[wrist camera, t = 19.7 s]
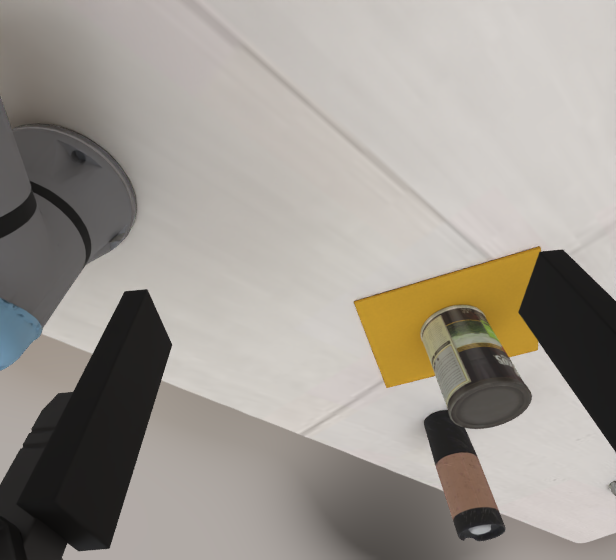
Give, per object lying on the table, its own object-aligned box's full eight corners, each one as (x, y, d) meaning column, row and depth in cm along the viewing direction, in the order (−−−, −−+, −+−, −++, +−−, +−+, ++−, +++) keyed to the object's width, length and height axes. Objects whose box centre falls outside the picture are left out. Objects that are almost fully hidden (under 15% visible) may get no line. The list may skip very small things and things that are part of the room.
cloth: (386, 386, 69) (386, 388, 69) (353, 301, 56) (354, 303, 56) (536, 348, 65) (537, 350, 64) (539, 246, 51) (541, 248, 51)
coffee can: (470, 292, 56) (516, 371, 44) (495, 330, 61) (542, 409, 50) (407, 325, 59) (436, 405, 48) (436, 359, 64) (468, 437, 53)
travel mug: (454, 404, 74) (500, 520, 58) (465, 423, 78) (511, 534, 62) (417, 417, 76) (451, 532, 60) (429, 434, 80) (465, 545, 64)
